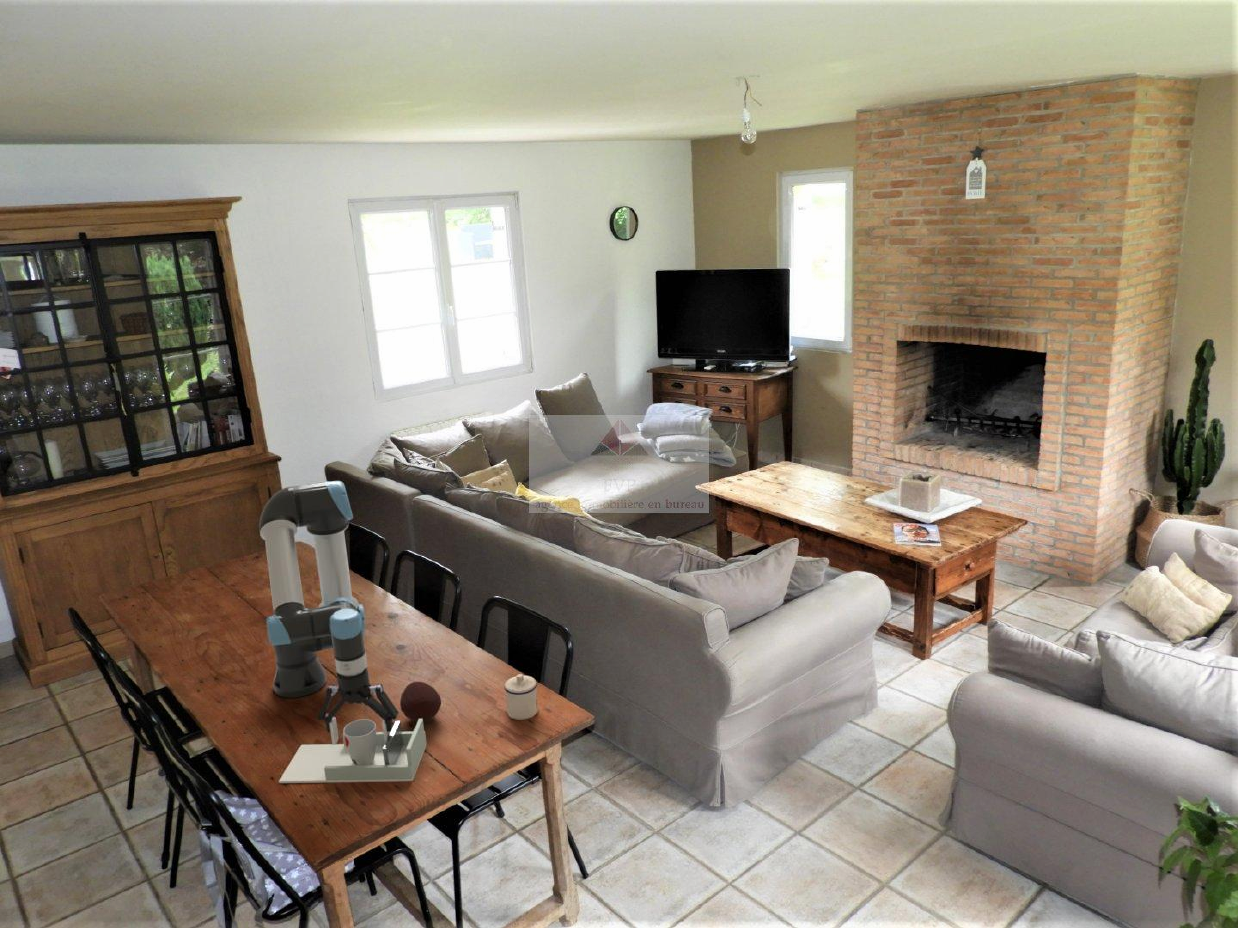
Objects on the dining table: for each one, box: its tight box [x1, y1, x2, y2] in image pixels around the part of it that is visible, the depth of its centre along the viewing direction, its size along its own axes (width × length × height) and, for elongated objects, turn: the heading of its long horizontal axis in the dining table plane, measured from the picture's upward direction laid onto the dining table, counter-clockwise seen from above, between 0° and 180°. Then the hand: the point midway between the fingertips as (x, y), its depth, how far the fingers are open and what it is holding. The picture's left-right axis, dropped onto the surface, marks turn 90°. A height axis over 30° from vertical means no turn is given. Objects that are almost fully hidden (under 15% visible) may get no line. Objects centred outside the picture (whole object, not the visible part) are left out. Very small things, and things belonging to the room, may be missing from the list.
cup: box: [342, 718, 377, 766], centre depth 232 cm, size 8×8×10 cm
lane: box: [278, 719, 428, 784], centre depth 233 cm, size 34×16×9 cm, turn 89°
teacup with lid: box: [503, 673, 539, 721], centre depth 254 cm, size 12×9×12 cm
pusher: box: [383, 720, 403, 765], centre depth 233 cm, size 1×13×8 cm, turn 178°
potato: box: [399, 681, 442, 724], centre depth 252 cm, size 11×13×10 cm
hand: (361, 741), depth 233 cm, fingers open, 13 cm apart
